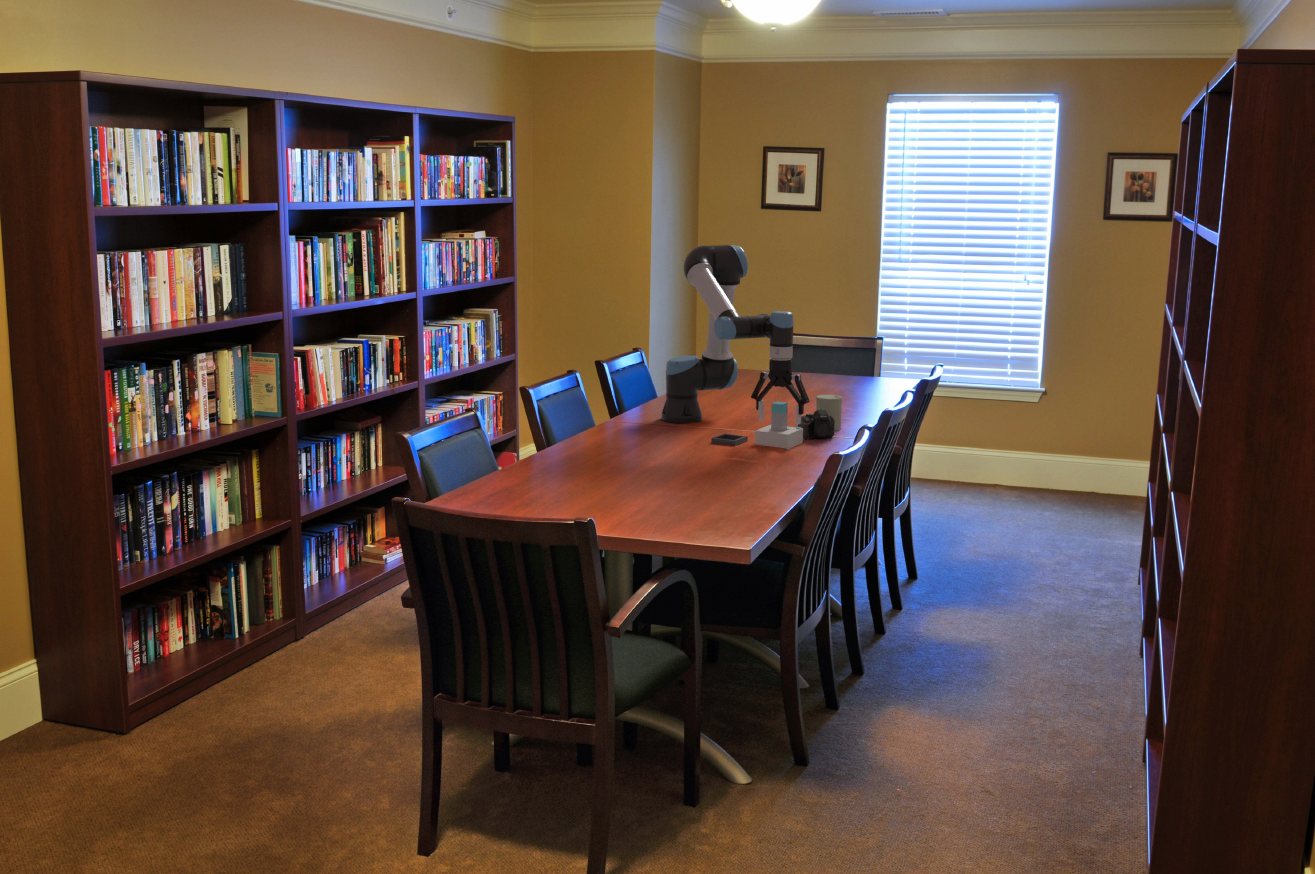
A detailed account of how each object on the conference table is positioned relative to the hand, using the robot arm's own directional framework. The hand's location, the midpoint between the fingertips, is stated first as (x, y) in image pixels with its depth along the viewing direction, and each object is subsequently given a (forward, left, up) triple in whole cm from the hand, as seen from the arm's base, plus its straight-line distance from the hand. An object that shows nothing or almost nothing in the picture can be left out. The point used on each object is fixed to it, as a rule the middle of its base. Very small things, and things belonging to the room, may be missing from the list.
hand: (779, 422), depth 368 cm
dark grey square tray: (-15, -7, -7) cm, 18 cm away
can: (+4, +33, -8) cm, 34 cm away
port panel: (0, 0, -7) cm, 7 cm away
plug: (0, 0, -6) cm, 6 cm away
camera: (+7, +16, -8) cm, 20 cm away
